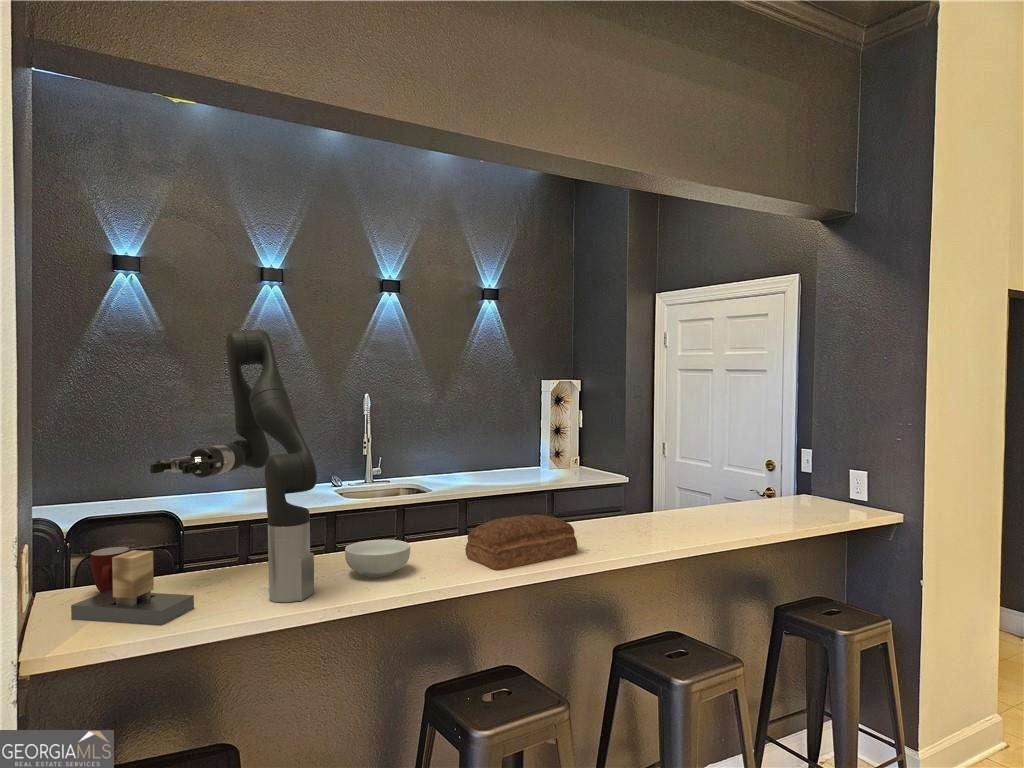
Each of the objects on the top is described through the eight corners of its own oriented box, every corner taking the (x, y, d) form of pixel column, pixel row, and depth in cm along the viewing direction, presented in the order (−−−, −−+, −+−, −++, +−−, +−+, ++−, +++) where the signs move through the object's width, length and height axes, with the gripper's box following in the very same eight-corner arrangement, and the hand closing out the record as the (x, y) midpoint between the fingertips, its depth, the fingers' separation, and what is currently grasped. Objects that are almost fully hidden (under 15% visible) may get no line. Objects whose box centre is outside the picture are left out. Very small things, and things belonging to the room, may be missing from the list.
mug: (129, 597, 154) (128, 555, 154) (88, 603, 151) (87, 559, 151) (131, 585, 164) (130, 545, 164) (92, 590, 160) (92, 549, 160)
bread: (462, 559, 185) (461, 518, 185) (545, 543, 201) (545, 505, 201) (494, 573, 171) (494, 529, 171) (582, 555, 187) (581, 514, 187)
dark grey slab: (193, 608, 146) (193, 595, 146) (161, 625, 136) (161, 610, 136) (108, 603, 150) (108, 590, 150) (71, 619, 141) (71, 605, 141)
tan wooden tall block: (154, 609, 146) (153, 551, 146) (133, 619, 140) (132, 558, 140) (134, 608, 147) (133, 550, 147) (113, 618, 141) (112, 557, 141)
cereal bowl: (420, 576, 169) (420, 548, 168) (357, 587, 160) (356, 558, 160) (396, 560, 183) (396, 535, 183) (337, 570, 175) (336, 543, 175)
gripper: (187, 446, 171) (140, 453, 155) (236, 446, 168) (194, 453, 153) (187, 474, 171) (141, 484, 155) (237, 475, 169) (194, 485, 153)
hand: (167, 469), depth 154 cm, fingers open, 8 cm apart
